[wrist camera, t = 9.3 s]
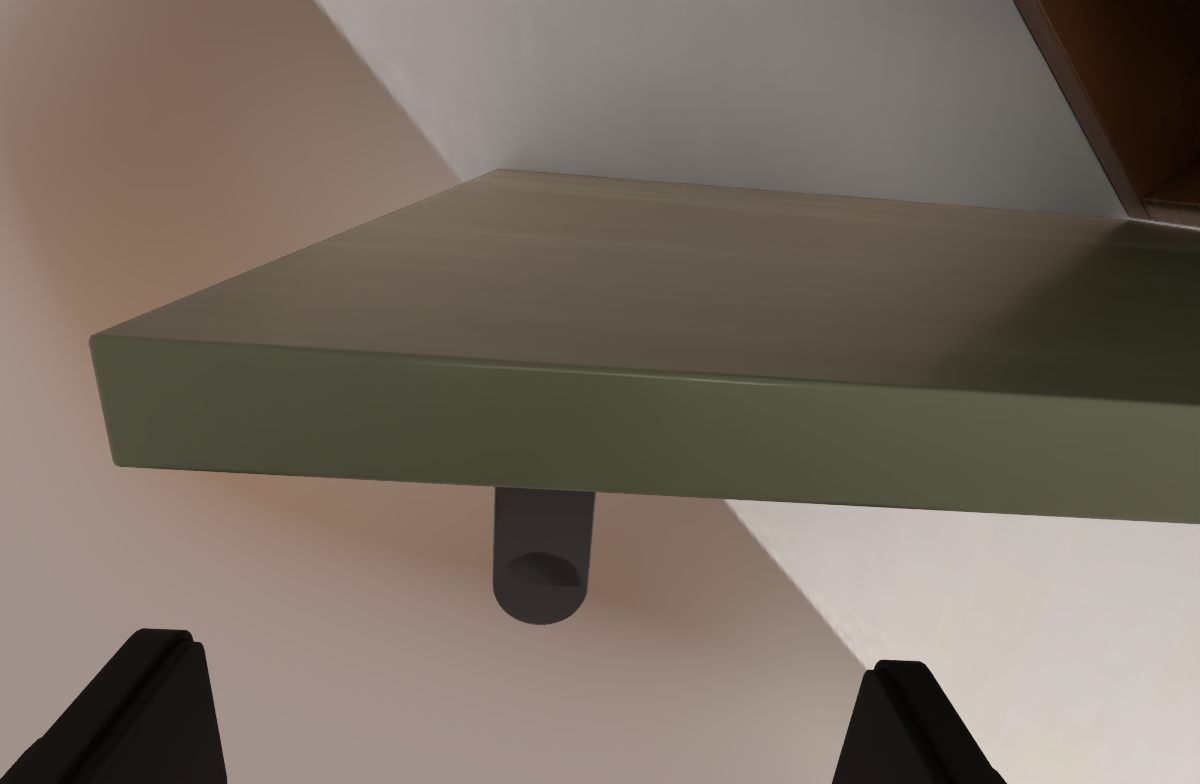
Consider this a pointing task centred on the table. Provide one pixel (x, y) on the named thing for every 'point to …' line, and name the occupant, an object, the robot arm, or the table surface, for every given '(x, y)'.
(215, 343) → the cupboard door
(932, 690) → the robot arm
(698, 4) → the table surface
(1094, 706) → the table surface
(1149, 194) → the cupboard
